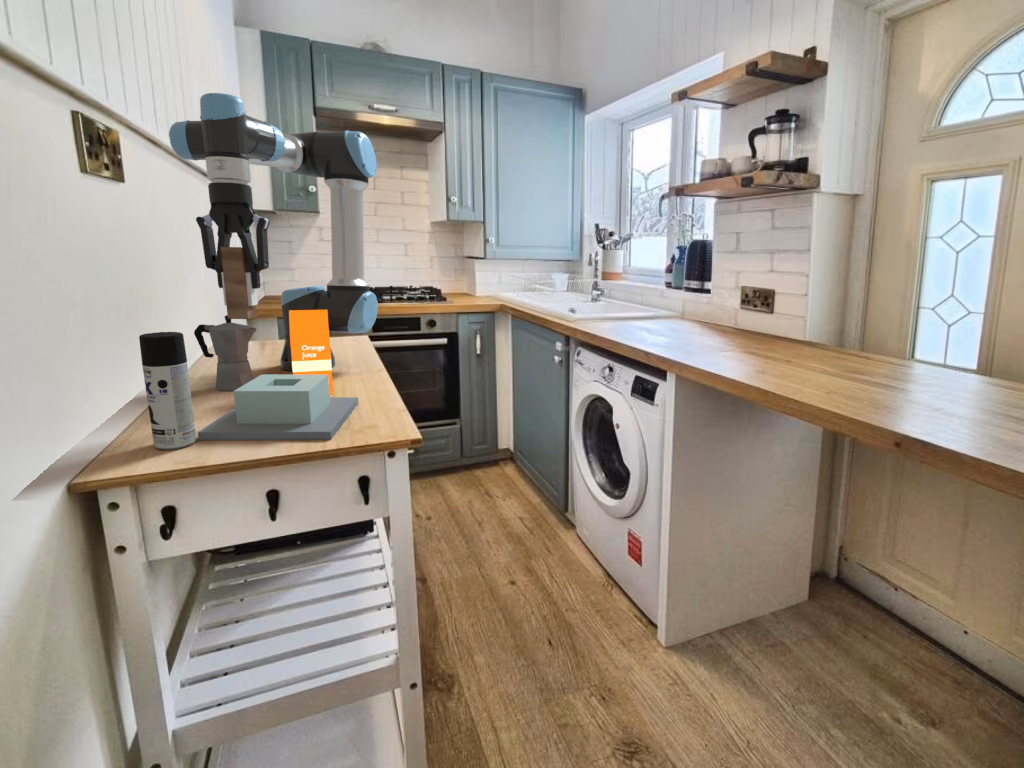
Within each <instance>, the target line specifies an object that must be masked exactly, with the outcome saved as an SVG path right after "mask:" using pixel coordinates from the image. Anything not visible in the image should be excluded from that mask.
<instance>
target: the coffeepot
mask: <svg viewBox="0 0 1024 768" xmlns="http://www.w3.org/2000/svg"><path fill="white" fill-rule="evenodd" d="M223 317H224V320H225V322H224V323H221V324H217V325H214V324H202V323H201V324H198V326H197V327H196V328H195V329H194V332H193V333H194V336H195V338H196V341H197V343H198V345H199V347H200V349H201V351H202V353H203V356H204V357H205V358H213V357H214V356H217V363H216V376H215V377H216V379H215V389H216V390H217V391H224V392H234V391H235V390H236V389H238V388H240V387H241V386H243V385H245V384H246V383H248V382H250V381H251V380H253V379H255V378H254V375H253V371H252V369H251V365H250V362H249V360H248V354H249V343H250V340H251V338H252V337H253V335H254V333H255V332H256V331H257V329H256V327H252V326H250V325H247V324H241V323H236V322H232V319H228V315H227V314H226V315H225V316H223ZM203 333H207V334H209V336H210V340H211V343H212V347H213V351H214V353H215V355H214V353H210V352H209V349H208V345H207V344H206V342H205V338H204V336H203Z"/></svg>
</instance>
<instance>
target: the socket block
mask: <svg viewBox="0 0 1024 768" xmlns="http://www.w3.org/2000/svg"><path fill="white" fill-rule="evenodd" d="M233 396H234V408H232V409H231V410H229V411H227V412H226V413H224V414H223V415H222V416H220V417H218V418H217V419H216V420H214V421H212V422H211V423H210V424H209V425H207V426H205V427H204V428H202V429H201V430H199V431H198V432H197V439H198V440H199V441H252V440H254V441H255V440H256V441H260V440H261V441H262V440H263V441H267V440H268V441H269V440H270V441H271V440H272V441H275V440H276V441H277V440H278V441H280V440H282V441H283V440H284V441H285V440H286V441H287V440H292V441H293V440H295V441H296V440H310V441H311V440H332V439H333V438H334V437H335V435H336V434H337V432H339V430H340V429H341V427H342V426H343V425H344V423H345V422H346V421H347V420H348V418H349V417H350V416H351V415H352V413H353V412H354V411H355V409H356V408H357V407H358V405H359V404H358V403H359V402H360V401H359V397H343V396H341V397H331V394H329V380H328V375H310V374H293V373H292V374H284V373H282V374H276V373H275V374H271V373H270V374H269V373H267V374H264V373H263V374H259V376H257V377H255V378H254V379H253V380H251V381H250V382H248V383H246V384H245V385H243V386H241V387H240V388H238V389H236V390H235V391H233ZM355 407H356V408H355ZM352 411H353V412H352ZM349 415H350V416H349Z"/></svg>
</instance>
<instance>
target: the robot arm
mask: <svg viewBox="0 0 1024 768" xmlns="http://www.w3.org/2000/svg"><path fill="white" fill-rule="evenodd" d="M199 105H200V107H199V108H200V116H199V118H200V120H189V119H188V120H187V119H185V120H183V121H176V122H174V123H173V124H172V125H171V126H170V128H169V132H168V137H169V143H170V146H171V148H172V150H173V151H174V153H175V154H176V155H177V156H178V157H180V158H181V159H183V160H186V161H187V160H190V161H191V160H192V161H205V169H206V176H207V179H208V181H210V183H208V185H207V186H208V188H207V189H208V196H209V203H210V209H209V212H208V214H206V215H203V216H197V217H196V218H195V221H196V224H197V226H198V227H199V229H200V235H201V242H202V249H203V255H204V256H203V257H204V263H205V267H206V268H207V269H211V270H213V271H215V272H216V277H217V285H218V288H219V289H222V291H223V292H222V293H223V303H224V306H227V305H226V295H225V286H224V276H223V266H222V256H221V247H231V246H230V245H231V238H232V236H233V234H237V237H238V238H239V240H240V244H241V247H243V250H244V254H245V258H246V261H247V265H248V268H249V270H248V273H245V275H246V285H247V296H248V306H253V305H256V306H258V305H259V301H258V292H257V291H258V290H257V289H260V288H261V276H260V275H261V271H264V270H267V269H268V268H269V267H270V265H269V264H270V263H269V261H270V260H269V259H270V258H269V240H268V239H269V238H268V229H269V226H270V223H271V221H270V219H269V218H266V217H262V216H259V215H257V214H256V211H255V210H254V208H253V203H254V202H253V201H254V200H253V192H252V191H253V190H252V187H251V185H249V184H250V182H252V178H251V170H250V168H251V167H250V165H254V166H261V167H262V166H264V167H273V168H277V170H279V171H281V172H283V173H284V172H285V173H291V174H296V175H301V176H304V177H305V176H306V177H310V178H311V177H312V178H320V179H321V178H323V179H324V184H325V185H326V186H327V187H328V189H329V190H330V227H331V228H330V229H331V230H330V233H331V236H330V237H331V277H332V278H331V280H329V281H328V283H326V289H325V287H324V285H315V286H314V285H311V286H304V287H298V288H297V287H296V288H289V289H285V290H284V291H282V293H281V305H280V307H281V313H282V323H283V334H284V344H283V348H282V352H281V357H280V361H279V362H280V369H281V370H284V371H290V372H293V369H292V355H291V343H290V323H289V311H290V310H327V312H328V327H329V333H346V334H352V335H353V334H365V333H367V332H369V331H370V330H371V329H372V327H373V326H374V324H375V322H376V319H377V315H378V309H379V303H378V299H377V298H378V297H377V296H376V294H375V293H374V292H372V291H370V284H369V283H368V282H367V281H366V280H365V265H364V264H365V260H364V259H365V255H364V254H365V253H364V252H365V250H364V243H365V242H364V191H365V190H366V189H367V188H368V187H369V179H372V178H373V177H375V175H376V172H377V168H378V167H377V157H376V153H375V150H374V147H373V144H372V142H371V140H370V139H369V137H368V136H367V135H366V134H365V133H363V132H361V131H354V130H353V131H352V130H351V131H350V130H348V129H347V130H337V131H335V130H333V131H309V132H299V133H288V132H287V133H286V132H282V131H281V130H280V129H279V128H278V127H277V126H274V125H273V124H270V122H267V121H266V120H265V121H263V120H260V119H257V118H254V117H253V116H248V115H247V114H246V108H245V104H244V102H243V101H242V98H240V97H238V96H236V95H232V94H229V93H228V94H227V93H220V92H208V93H204V94H203V95H201V97H200V99H199ZM213 222H214V224H215V225H216V226H217V238H218V240H217V247H216V243H215V234H214V229H213V225H214V224H213ZM253 223H254V226H255V228H256V229H255V238H256V250H255V245H254V243H253V239H252V232H251V229H250V228H251V226H252V225H253ZM330 353H331V365H332V368H333V367H335V366H336V357H335V355H334V353H333V349H332V348H331V346H330ZM334 365H335V366H334Z"/></svg>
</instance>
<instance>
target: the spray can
mask: <svg viewBox="0 0 1024 768" xmlns="http://www.w3.org/2000/svg"><path fill="white" fill-rule="evenodd" d="M138 338H139V348H140V356H141V365H142V371H143V378H144V379H143V380H144V384H145V392H146V399H147V407H148V408H147V409H148V413H149V419H150V420H149V421H150V428H151V434H152V441H153V446H154V447H155V449H157V450H160V451H173V450H180V449H185V448H187V447H190V446H192V445H194V444H195V443H196V441H197V433H196V426H195V425H196V424H195V417H194V416H195V415H194V409H193V408H194V407H193V401H192V400H193V399H192V393H191V392H192V391H191V384H190V376H189V369H188V358H187V351H186V345H185V338H184V334H183V333H182V332H180V331H179V332H178V331H159V332H150V333H142V334H140V335H139V337H138Z"/></svg>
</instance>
